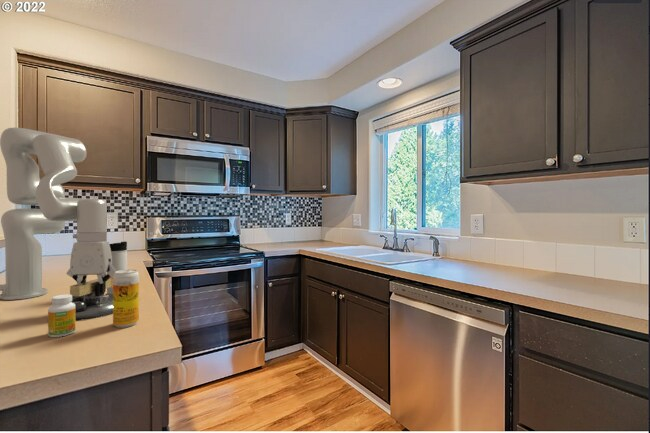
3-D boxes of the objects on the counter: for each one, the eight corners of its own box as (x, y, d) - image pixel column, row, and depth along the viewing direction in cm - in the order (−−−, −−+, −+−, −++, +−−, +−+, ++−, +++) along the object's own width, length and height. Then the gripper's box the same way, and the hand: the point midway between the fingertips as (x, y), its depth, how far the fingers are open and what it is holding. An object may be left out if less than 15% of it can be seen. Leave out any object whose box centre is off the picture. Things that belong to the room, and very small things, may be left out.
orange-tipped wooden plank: (80, 309, 92) (80, 286, 92) (68, 308, 93) (68, 285, 92) (116, 296, 105) (116, 276, 105) (106, 296, 106) (105, 276, 106)
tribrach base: (38, 321, 88) (38, 305, 88) (78, 302, 106) (78, 289, 106) (108, 318, 91) (108, 303, 91) (135, 300, 109) (135, 288, 109)
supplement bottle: (52, 339, 76) (52, 300, 76) (44, 334, 79) (44, 297, 79) (79, 332, 81) (79, 295, 81) (70, 328, 84) (70, 292, 84)
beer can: (111, 329, 83) (111, 274, 83) (114, 322, 88) (114, 270, 88) (137, 326, 86) (137, 272, 85) (139, 319, 91) (139, 268, 91)
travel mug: (117, 297, 112) (117, 242, 112) (102, 296, 114) (102, 241, 113) (131, 293, 118) (131, 240, 118) (117, 291, 120) (117, 240, 119)
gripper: (54, 239, 93) (54, 299, 93) (114, 239, 95) (114, 298, 96) (70, 236, 100) (71, 292, 101) (126, 236, 103) (126, 291, 103)
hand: (92, 294), depth 98 cm, fingers closed on orange-tipped wooden plank, 4 cm apart
